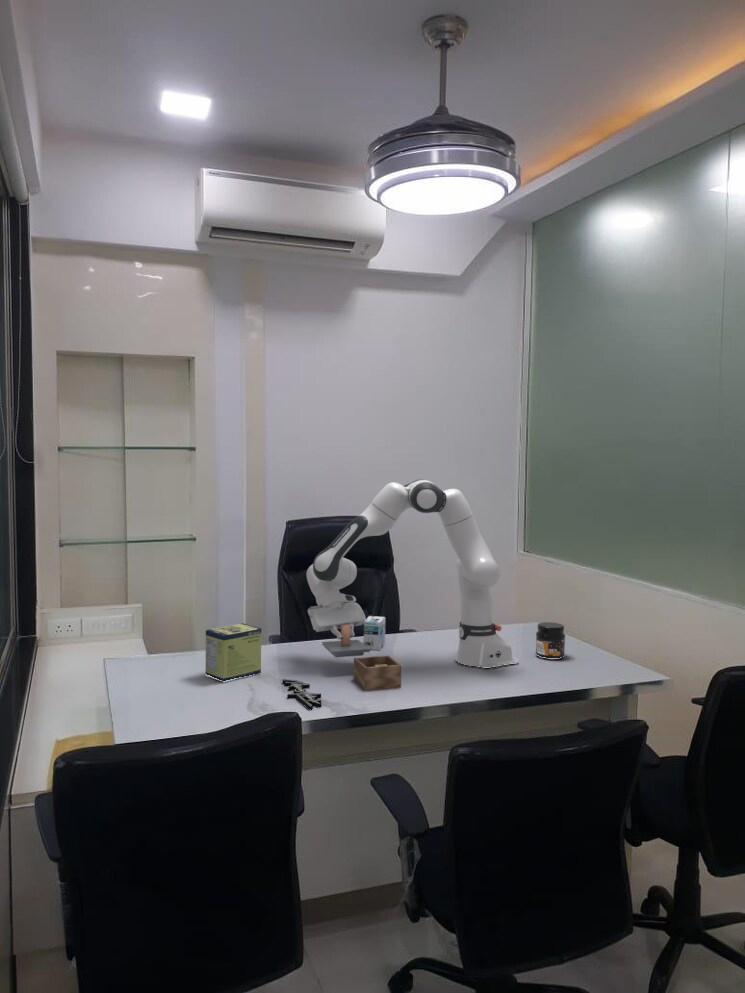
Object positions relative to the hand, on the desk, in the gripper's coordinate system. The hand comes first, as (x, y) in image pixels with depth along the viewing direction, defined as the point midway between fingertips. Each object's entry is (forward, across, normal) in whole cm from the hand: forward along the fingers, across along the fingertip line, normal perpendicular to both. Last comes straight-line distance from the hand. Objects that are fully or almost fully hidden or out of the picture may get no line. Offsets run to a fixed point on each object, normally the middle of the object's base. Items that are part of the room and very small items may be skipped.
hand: (346, 637), depth 257 cm
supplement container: (+27, +72, -11) cm, 78 cm away
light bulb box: (-6, +27, +22) cm, 36 cm away
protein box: (-3, -34, +19) cm, 40 cm away
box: (+20, 0, -4) cm, 21 cm away
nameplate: (+18, -26, -2) cm, 32 cm away
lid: (+3, 0, +4) cm, 5 cm away
